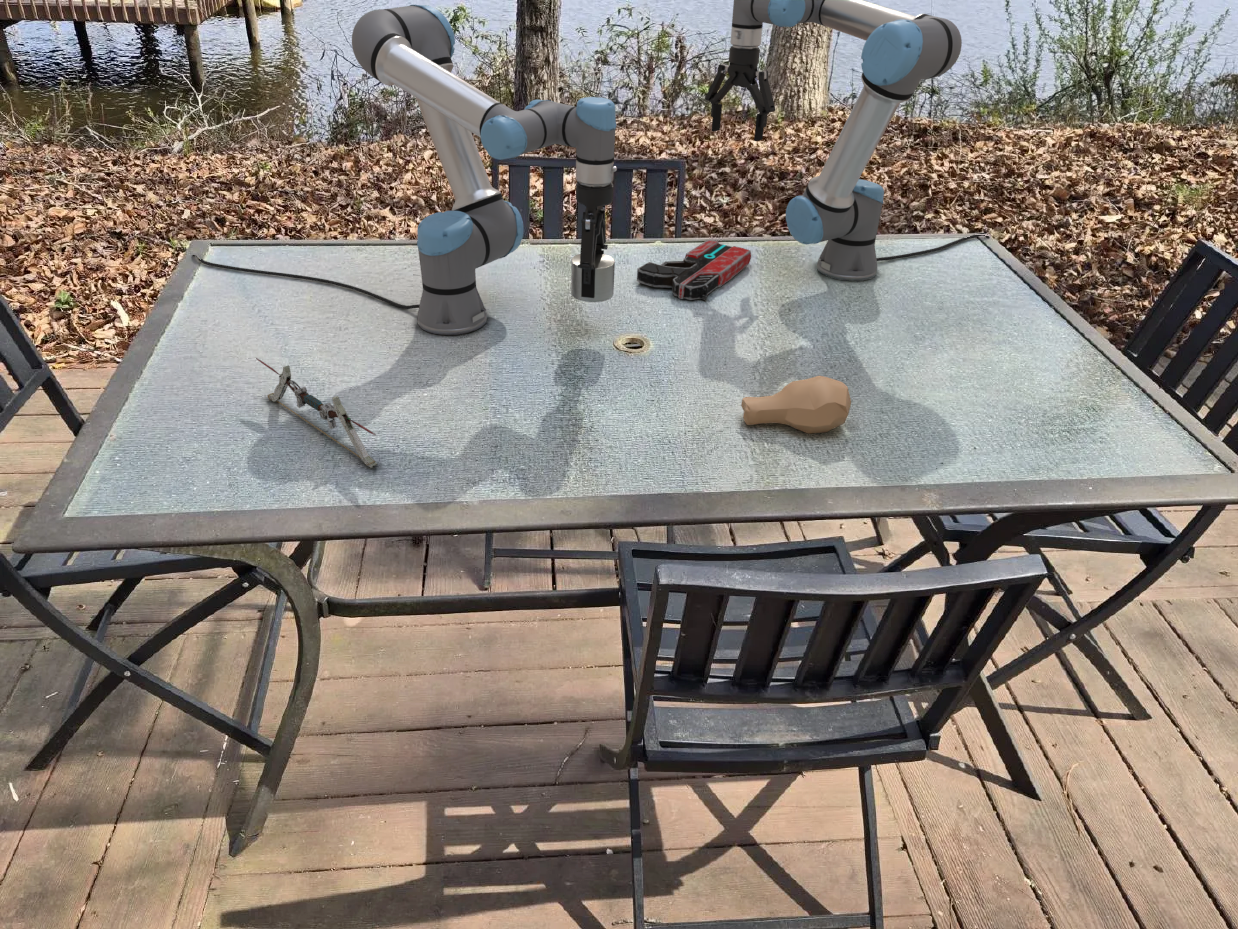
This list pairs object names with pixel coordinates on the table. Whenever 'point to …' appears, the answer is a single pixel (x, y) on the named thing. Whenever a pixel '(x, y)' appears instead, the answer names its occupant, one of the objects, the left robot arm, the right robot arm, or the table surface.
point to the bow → (322, 411)
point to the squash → (802, 405)
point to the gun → (697, 270)
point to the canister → (602, 278)
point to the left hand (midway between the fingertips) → (592, 287)
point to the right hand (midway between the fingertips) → (736, 135)
